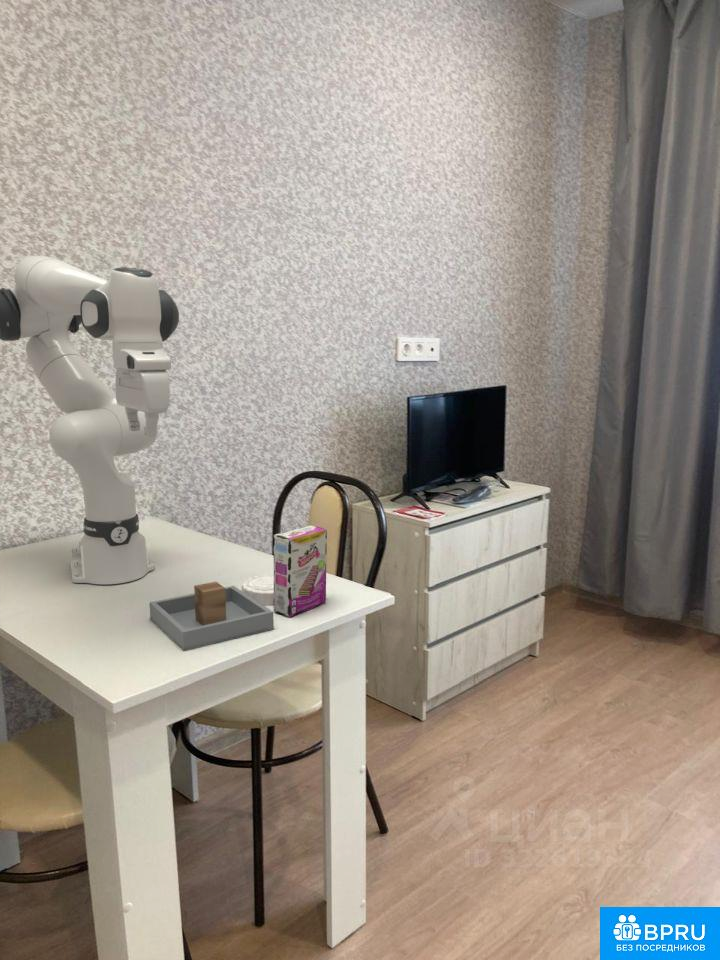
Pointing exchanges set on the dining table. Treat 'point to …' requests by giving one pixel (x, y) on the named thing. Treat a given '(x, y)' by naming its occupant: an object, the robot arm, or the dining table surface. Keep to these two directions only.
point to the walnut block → (210, 603)
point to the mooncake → (260, 589)
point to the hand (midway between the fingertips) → (142, 433)
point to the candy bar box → (299, 570)
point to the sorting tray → (190, 634)
